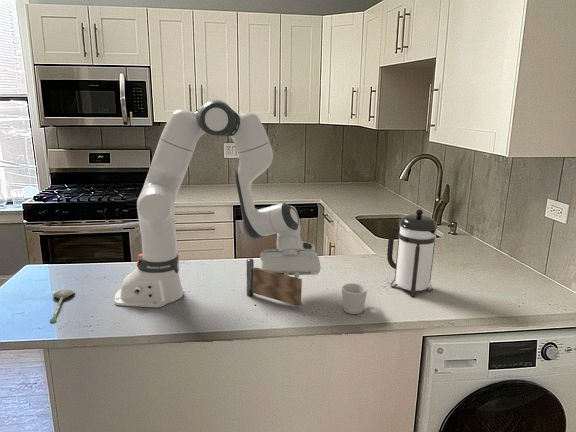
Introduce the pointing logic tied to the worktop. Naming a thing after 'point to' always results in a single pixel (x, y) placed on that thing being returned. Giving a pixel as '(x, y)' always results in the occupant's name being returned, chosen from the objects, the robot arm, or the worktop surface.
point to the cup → (353, 298)
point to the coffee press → (413, 252)
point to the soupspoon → (61, 296)
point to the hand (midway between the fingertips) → (292, 286)
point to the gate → (277, 286)
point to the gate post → (250, 277)
